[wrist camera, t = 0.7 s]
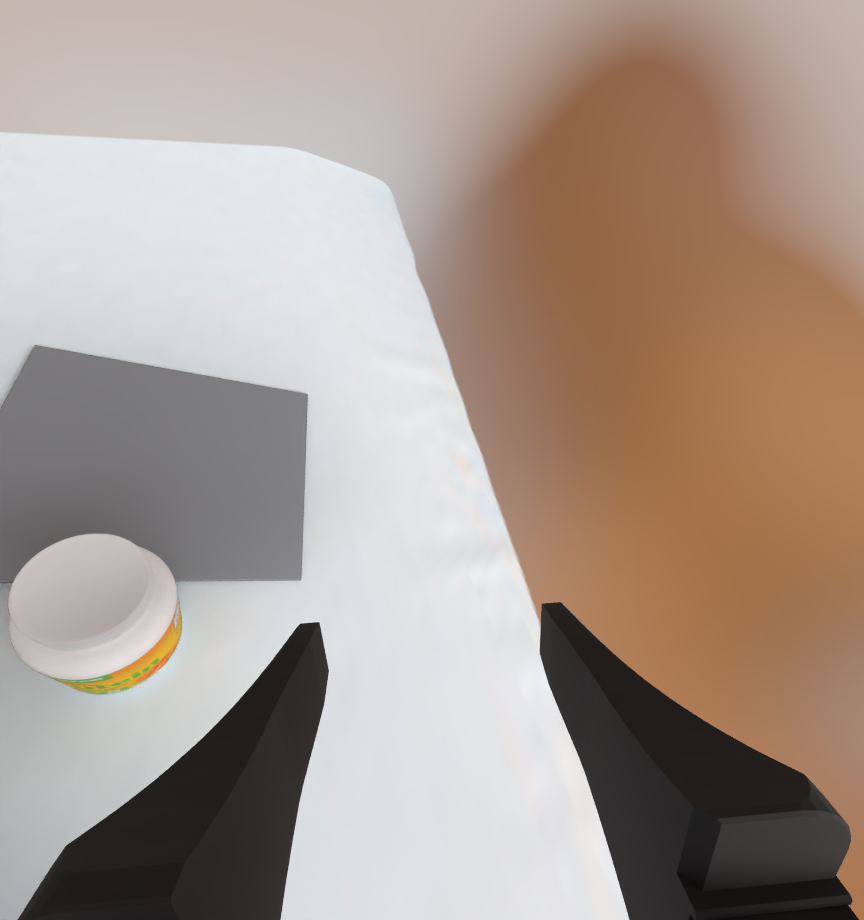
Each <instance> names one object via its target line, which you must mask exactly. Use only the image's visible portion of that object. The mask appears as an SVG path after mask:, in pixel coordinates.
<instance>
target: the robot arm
mask: <svg viewBox="0 0 864 920" xmlns="http://www.w3.org/2000/svg"><path fill="white" fill-rule="evenodd" d="M540 655H541V659H542V662H543V666H544V670H545V673H546V676H547V680H548V683H549V686H550V688H551V691H552V693H553V696H554V698H555V701H556V703H557V705H558V708H559V710H560V713H561V715H562V717H563V720H564V722H565V725H566V727H567V729H568V732H569V734H570V737H571V739H572V741H573V744H574V746H575V749H576V751H577V753H578V756H579V758H580V761H581V764H582V766H583V769H584V771H585V774H586V777H587V780H588V783H589V786H590V789H591V793H592V796H593V799H594V802H595V805H596V808H597V811H598V814H599V818H600V821H601V824H602V827H603V831H604V834H605V837H606V841H607V844H608V847H609V850H610V854H611V857H612V860H613V864H614V867H615V871H616V874H617V878H618V881H619V884H620V888H621V891H622V895H623V898H624V902H625V905H626V909H627V912H628V916H629V920H859V919H858V918H857V917H856V915H855V914H854V912H853V911H852V910H851V908H850V907H849V906H848V905H851V903H852V898H851V896H850V894H849V892H848V891H847V890H846V888H845V887H844V886H843V884H842V883H841V882H840V880H839V879H838V878H837V876H836V874H837V872H838V870H839V868H840V866H841V864H842V862H843V859H844V858H845V855H846V853H847V851H848V849H849V845H850V842H851V834H850V829H849V826H848V824H847V823H846V822H845V821H844V820H843V818H842V817H841V816H840V815H839V813H838V812H837V811H836V810H835V809H834V807H833V806H832V805H831V804H830V803H829V801H828V800H827V799H826V798H825V796H824V795H823V794H822V793H821V792H820V791H819V790H818V789H817V788H816V786H815V785H814V784H813V783H812V782H811V781H810V780H809V779H808V778H807V777H806V776H805V775H804V774H802V773H800V772H798V771H796V770H794V769H792V768H790V767H788V766H786V765H784V764H782V763H780V762H778V761H776V760H774V759H772V758H770V757H768V756H766V755H764V754H762V753H760V752H758V751H756V750H754V749H752V748H751V747H749V746H747V745H745V744H743V743H742V742H740V741H738V740H736V739H734V738H733V737H731V736H729V735H727V734H725V733H724V732H722V731H720V730H719V729H717V728H715V727H714V726H712V725H710V724H709V723H707V722H705V721H703V720H702V719H701V718H699V717H697V716H696V715H694V714H692V713H691V712H689V711H688V710H687V709H685V708H683V707H682V706H680V705H679V704H677V703H676V702H674V701H673V700H672V699H670V698H669V697H667V696H666V695H665V694H663V693H662V692H660V691H659V690H658V689H656V688H655V687H653V686H652V685H651V684H650V683H648V682H647V681H646V680H644V679H643V678H642V677H641V676H639V675H638V674H637V673H636V672H634V671H633V670H632V669H631V668H630V667H628V666H627V665H626V664H625V663H624V662H622V661H621V660H620V659H619V658H618V657H617V656H616V655H615V654H613V653H612V652H611V651H610V650H609V649H608V648H607V647H606V646H605V645H604V644H602V643H601V642H600V641H599V640H598V639H597V638H596V637H595V636H594V635H593V634H592V633H591V632H590V631H589V630H588V629H587V628H586V627H585V626H584V625H583V624H582V623H581V622H580V621H579V620H578V619H577V618H576V617H575V616H574V615H573V614H572V613H571V612H570V611H569V610H568V609H567V608H566V607H565V606H564V605H563V604H562V603H560V602H559V603H546V604H542V612H541V635H540ZM328 673H329V670H328V664H327V659H326V654H325V649H324V644H323V639H322V634H321V628H320V623H319V622H316V623H304V624H300V625H299V626H298V627H297V628H296V629H295V631H294V632H293V633H292V635H291V636H290V637H289V639H288V640H287V641H286V643H285V644H284V645H283V647H282V648H281V649H280V651H279V652H278V653H277V655H276V656H275V657H274V659H273V660H272V661H271V662H270V664H269V665H268V666H267V667H266V669H265V670H264V671H263V672H262V674H261V675H260V676H259V677H258V679H257V680H256V681H255V682H254V683H253V685H252V686H251V687H250V688H249V689H248V690H247V691H246V693H245V694H244V695H243V696H242V697H241V698H240V700H239V701H238V702H237V703H236V704H235V705H234V706H233V707H232V709H231V710H230V711H229V712H228V713H227V714H226V715H225V716H224V717H223V718H222V719H221V720H220V721H219V722H218V723H217V724H216V725H215V726H214V727H213V728H212V729H211V730H210V731H209V732H208V733H207V734H206V735H205V736H204V737H203V738H202V739H201V740H200V741H199V742H198V743H197V744H196V745H195V746H193V747H192V748H191V749H190V750H189V751H188V752H187V753H186V754H185V755H183V756H182V757H181V758H180V759H179V760H178V761H177V762H176V763H174V764H173V765H172V766H171V767H170V768H169V769H168V770H166V771H165V772H164V773H163V774H162V775H160V776H159V777H158V778H157V779H156V780H154V781H153V782H152V783H151V784H149V785H148V786H147V787H146V788H144V789H143V790H142V791H141V792H139V793H138V794H137V795H136V796H134V797H133V798H132V799H130V800H129V801H128V802H127V803H125V804H124V805H123V806H121V807H120V808H119V809H117V810H116V811H115V812H113V813H112V814H110V815H109V816H108V817H106V818H105V819H103V820H102V821H100V822H99V823H98V824H96V825H95V826H93V827H92V828H91V829H89V830H88V831H86V832H85V833H84V834H82V835H81V836H79V837H78V838H77V839H75V840H74V841H72V842H71V843H69V844H68V845H66V847H65V848H64V850H63V851H62V852H61V854H60V855H59V857H58V858H57V860H56V861H55V863H54V864H53V865H52V867H51V868H50V870H49V871H48V873H47V875H46V876H45V878H44V879H43V881H42V882H41V884H40V886H39V887H38V889H37V890H36V892H35V893H34V895H33V897H32V898H31V900H30V901H29V903H28V904H27V906H26V908H25V909H24V911H23V912H22V914H21V915H20V917H19V919H18V920H280V919H281V912H282V905H283V898H284V891H285V884H286V878H287V872H288V866H289V859H290V853H291V847H292V841H293V835H294V829H295V823H296V818H297V812H298V806H299V801H300V796H301V792H302V788H303V783H304V779H305V776H306V772H307V768H308V764H309V760H310V756H311V753H312V749H313V745H314V741H315V737H316V734H317V730H318V726H319V722H320V718H321V714H322V710H323V706H324V701H325V694H326V687H327V680H328Z"/></svg>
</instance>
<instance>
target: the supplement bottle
mask: <svg viewBox="0 0 864 920" xmlns="http://www.w3.org/2000/svg"><path fill="white" fill-rule="evenodd" d="M8 608H9V613H10V622H9V632H10V638H11V642H12V645H13V647H14V649H15V651H16V652H17V654H18V655H19V657H20V658H21V659H22V660H23V661H24V662H25V663H26V664H27V665H28V666H29V667H31V668H32V669H34V670H35V671H37V672H39V673H41V674H43V675H46V676H48V677H50V678H53V679H55V680H57V681H59V682H62V683H64V684H66V685H68V686H70V687H72V688H74V689H77V690H79V691H82V692H85V693H90V694H98V695H106V694H114V693H119V692H123V691H127V690H129V689H132V688H134V687H137V686H139V685H141V684H142V683H144V682H146V681H147V680H149V679H150V678H152V677H153V676H154V675H156V674H157V673H158V672H159V671H160V670H161V669H162V668H163V667H164V666H165V665H166V664H167V663H168V661H169V660H170V659H171V657H172V656H173V654H174V652H175V650H176V648H177V646H178V644H179V641H180V637H181V632H182V617H181V611H180V605H179V599H178V593H177V587H176V582H175V580H174V577H173V575H172V573H171V571H170V569H169V568H168V566H167V565H166V564H165V563H164V562H163V560H162V559H160V558H159V557H158V556H157V555H155V554H154V553H152V552H150V551H148V550H146V549H144V548H142V547H139V546H137V545H135V544H134V543H132V542H131V541H129V540H127V539H125V538H122V537H119V536H115V535H110V534H84V535H78V536H74V537H70V538H67V539H64V540H61V541H59V542H57V543H55V544H53V545H50V546H49V547H47V548H45V549H44V550H42V551H41V552H39V553H38V554H36V555H35V556H34V557H33V558H31V559H30V560H29V561H28V562H27V563H26V564H25V565H24V567H23V568H22V569H21V570H20V572H19V573H18V575H17V576H16V578H15V580H14V582H13V584H12V586H11V589H10V593H9V598H8Z"/></svg>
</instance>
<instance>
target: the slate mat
mask: <svg viewBox="0 0 864 920" xmlns="http://www.w3.org/2000/svg"><path fill="white" fill-rule="evenodd" d="M307 402H308V394H303V393H298V392H292V391H287V390H281V389H275V388H270V387H264V386H259V385H253V384H248V383H242V382H237V381H231V380H225V379H220V378H214V377H209V376H203V375H198V374H192V373H186V372H181V371H175V370H170V369H164V368H159V367H153V366H148V365H142V364H136V363H131V362H125V361H120V360H114V359H109V358H103V357H97V356H92V355H86V354H81V353H75V352H70V351H64V350H59V349H53V348H47V347H42V346H36V345H35V346H34V348H33V350H32V352H31V354H30V356H29V358H28V359H27V361H26V363H25V365H24V367H23V369H22V371H21V372H20V374H19V376H18V378H17V380H16V382H15V384H14V385H13V387H12V389H11V391H10V393H9V395H8V397H7V398H6V400H5V402H4V404H3V406H2V408H1V410H0V582H14V580H15V578H16V576H17V575H18V573H19V572H20V570H21V569H22V568H23V567H24V565H25V564H26V563H27V562H28V561H29V560H30V559H31V558H33V557H34V556H35V555H36V554H38V553H39V552H41V551H42V550H44V549H45V548H47V547H49V546H50V545H53V544H55V543H57V542H59V541H61V540H64V539H67V538H70V537H74V536H78V535H84V534H110V535H115V536H119V537H122V538H125V539H127V540H129V541H131V542H132V543H134V544H135V545H137V546H139V547H142V548H144V549H146V550H148V551H150V552H152V553H154V554H155V555H157V556H158V557H159V558H160V559H162V560H163V562H164V563H165V564H166V565H167V566H168V568H169V569H170V571H171V573H172V575H173V577H174V580H175V581H273V580H301V575H302V546H303V517H304V489H305V460H306V431H307Z"/></svg>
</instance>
